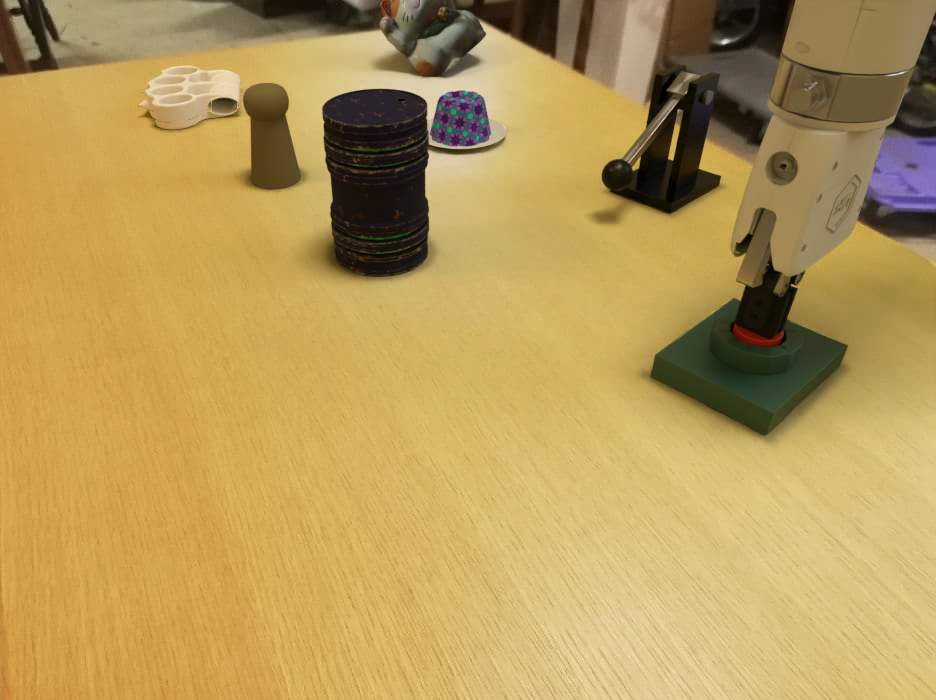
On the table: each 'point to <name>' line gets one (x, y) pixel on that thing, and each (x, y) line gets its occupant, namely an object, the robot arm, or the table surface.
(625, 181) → the lever
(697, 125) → the bracket
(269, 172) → the brown pawn
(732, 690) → the table surface
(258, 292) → the table surface
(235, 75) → the white brass knuckles
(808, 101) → the robot arm
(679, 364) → the button box
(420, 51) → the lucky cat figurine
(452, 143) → the pudding
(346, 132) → the dark purple cylinder
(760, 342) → the button
